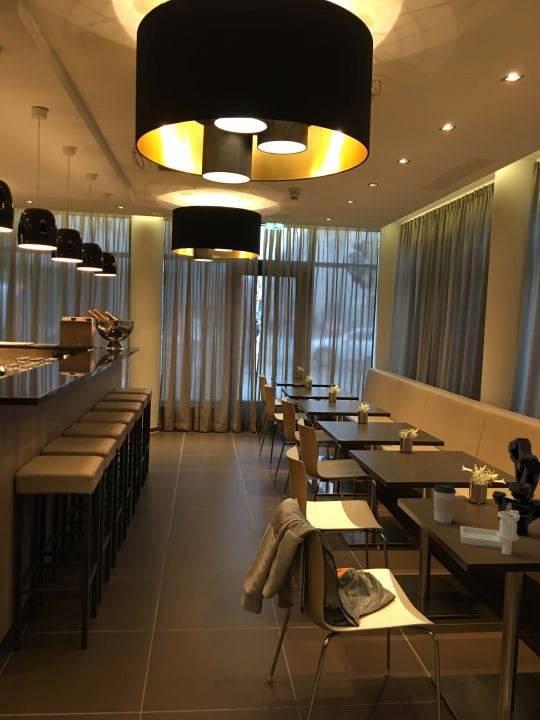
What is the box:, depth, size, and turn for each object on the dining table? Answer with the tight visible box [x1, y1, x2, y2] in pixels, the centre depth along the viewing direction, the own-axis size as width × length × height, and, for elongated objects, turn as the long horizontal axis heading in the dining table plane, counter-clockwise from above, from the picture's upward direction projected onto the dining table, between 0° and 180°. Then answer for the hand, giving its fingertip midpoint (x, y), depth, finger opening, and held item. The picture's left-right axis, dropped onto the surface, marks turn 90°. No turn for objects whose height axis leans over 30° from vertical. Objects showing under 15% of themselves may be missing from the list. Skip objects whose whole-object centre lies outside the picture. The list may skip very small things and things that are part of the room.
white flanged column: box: [497, 510, 520, 556], centre depth 204 cm, size 7×7×15 cm
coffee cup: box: [433, 482, 457, 524], centre depth 239 cm, size 9×9×15 cm
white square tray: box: [459, 525, 503, 550], centre depth 217 cm, size 14×14×2 cm
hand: (511, 522), depth 205 cm, fingers open, 9 cm apart
